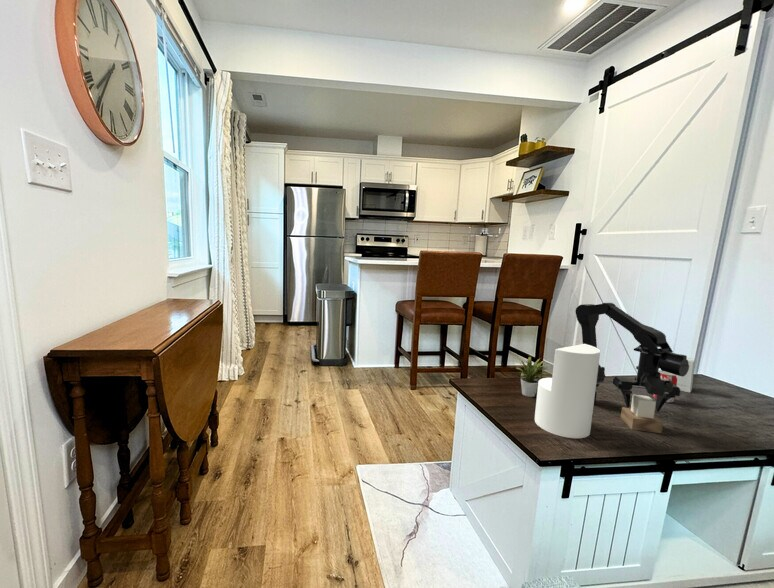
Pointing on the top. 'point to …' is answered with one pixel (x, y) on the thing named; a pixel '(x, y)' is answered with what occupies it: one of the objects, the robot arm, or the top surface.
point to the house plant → (531, 377)
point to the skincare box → (686, 377)
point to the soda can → (668, 377)
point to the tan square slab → (641, 421)
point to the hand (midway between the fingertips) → (642, 409)
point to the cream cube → (643, 406)
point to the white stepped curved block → (569, 392)
